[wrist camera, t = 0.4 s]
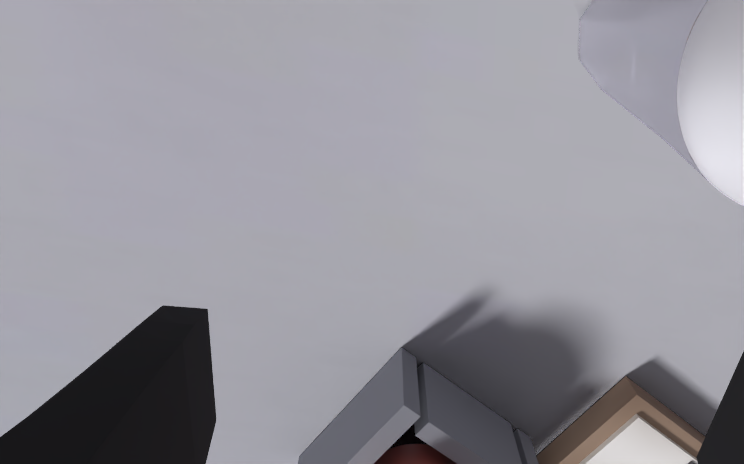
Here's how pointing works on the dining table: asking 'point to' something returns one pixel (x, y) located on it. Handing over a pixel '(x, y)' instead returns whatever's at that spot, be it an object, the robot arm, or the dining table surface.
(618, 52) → the milkshake
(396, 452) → the button
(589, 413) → the brown flat wooden board
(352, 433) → the button housing
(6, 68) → the dining table surface
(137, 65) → the dining table surface
